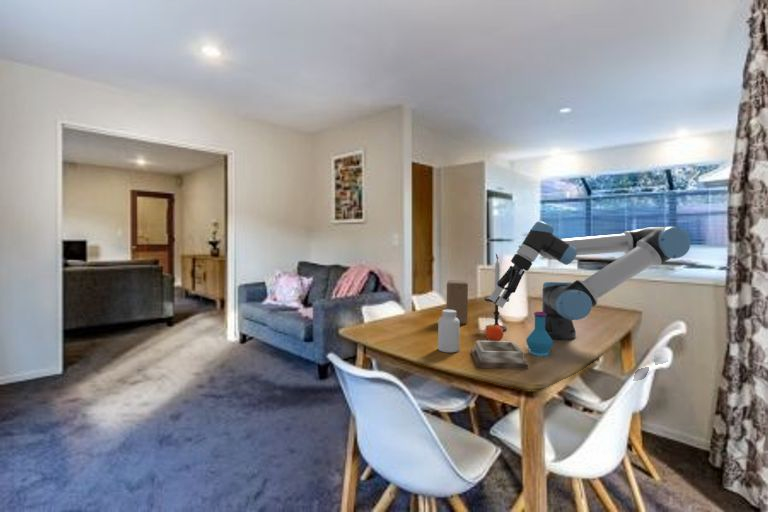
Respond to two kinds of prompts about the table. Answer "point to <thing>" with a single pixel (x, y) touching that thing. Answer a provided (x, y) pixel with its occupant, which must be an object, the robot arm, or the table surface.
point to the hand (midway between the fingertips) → (495, 303)
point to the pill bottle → (448, 332)
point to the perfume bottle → (539, 337)
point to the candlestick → (497, 298)
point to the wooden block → (458, 299)
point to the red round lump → (494, 332)
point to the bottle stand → (498, 355)
